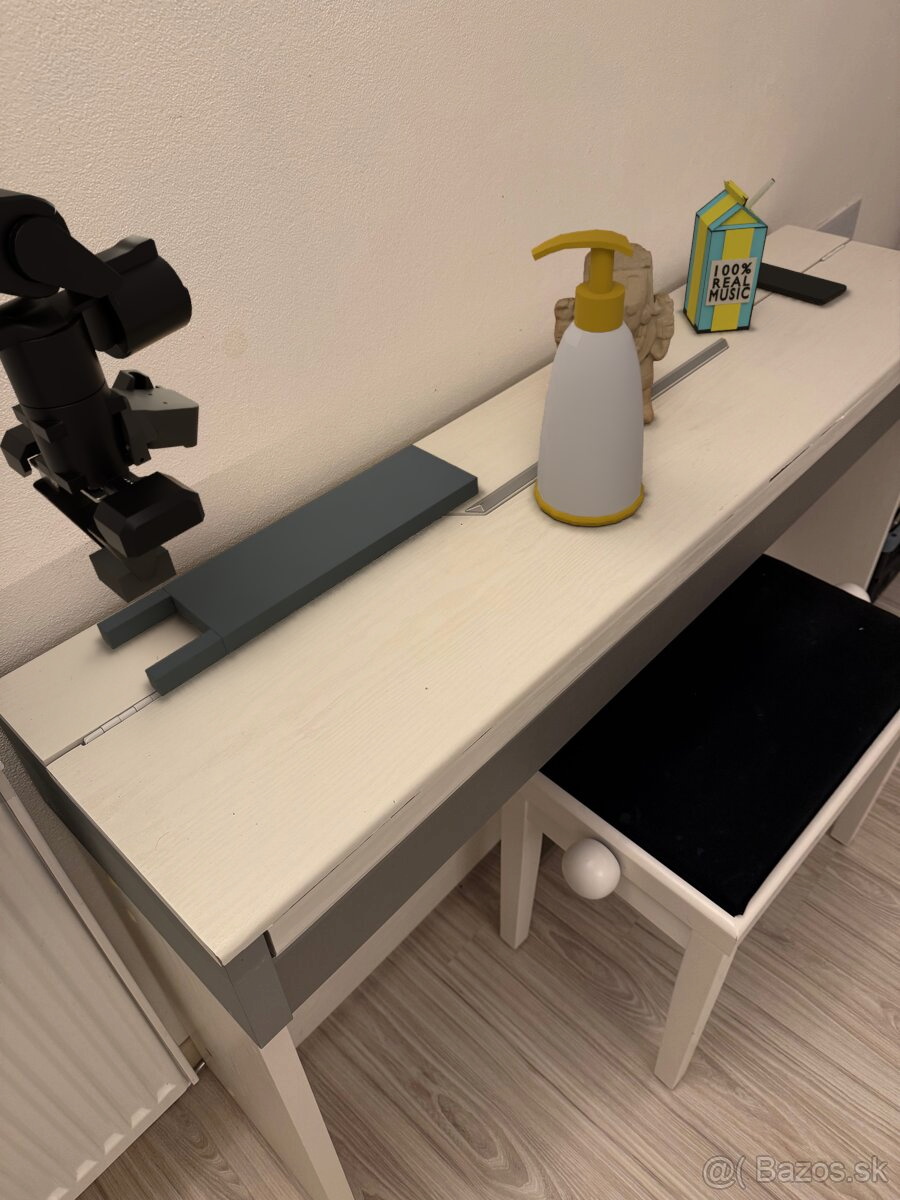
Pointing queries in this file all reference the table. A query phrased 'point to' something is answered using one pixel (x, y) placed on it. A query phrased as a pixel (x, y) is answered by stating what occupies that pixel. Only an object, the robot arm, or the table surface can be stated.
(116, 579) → the black block
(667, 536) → the table surface
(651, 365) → the figurine
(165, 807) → the table surface
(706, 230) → the carton
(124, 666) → the table surface
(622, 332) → the soap bottle
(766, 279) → the smartphone
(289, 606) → the grey rectangular block
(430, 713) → the table surface
